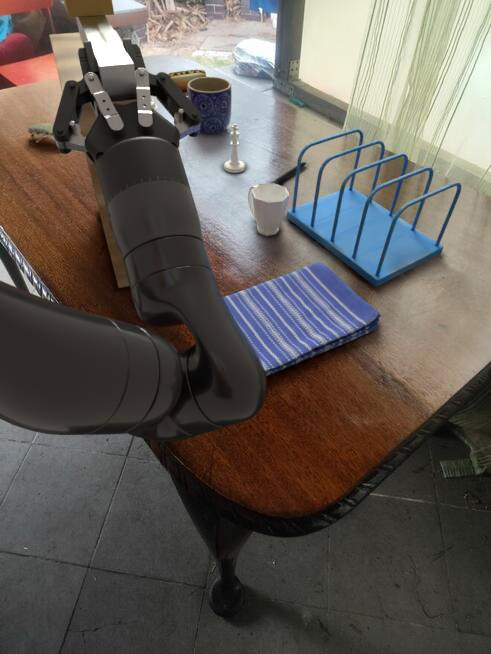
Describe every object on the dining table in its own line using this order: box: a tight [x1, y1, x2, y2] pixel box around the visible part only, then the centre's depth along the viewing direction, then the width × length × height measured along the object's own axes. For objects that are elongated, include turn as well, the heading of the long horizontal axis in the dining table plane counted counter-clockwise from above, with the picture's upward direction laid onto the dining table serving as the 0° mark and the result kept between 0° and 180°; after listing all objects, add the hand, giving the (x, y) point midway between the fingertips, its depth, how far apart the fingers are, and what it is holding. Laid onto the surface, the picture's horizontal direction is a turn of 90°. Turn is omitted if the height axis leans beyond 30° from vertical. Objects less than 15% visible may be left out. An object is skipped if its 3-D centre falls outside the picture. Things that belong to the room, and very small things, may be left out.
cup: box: [247, 182, 291, 237], centre depth 86 cm, size 7×10×8 cm
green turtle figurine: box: [27, 122, 56, 144], centre depth 110 cm, size 9×11×5 cm
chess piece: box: [223, 123, 246, 174], centre depth 102 cm, size 5×5×10 cm
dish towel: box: [222, 261, 382, 377], centre depth 71 cm, size 17×24×3 cm
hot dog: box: [167, 69, 207, 92], centre depth 136 cm, size 5×13×5 cm, turn 115°
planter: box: [186, 76, 233, 136], centre depth 115 cm, size 11×11×11 cm
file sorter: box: [286, 128, 462, 288], centre depth 82 cm, size 25×17×15 cm
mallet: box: [62, 0, 137, 102], centre depth 46 cm, size 22×5×7 cm, turn 20°
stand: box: [48, 29, 137, 289], centre depth 73 cm, size 25×10×31 cm, turn 20°
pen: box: [270, 161, 307, 185], centre depth 102 cm, size 1×16×1 cm, turn 142°
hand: (107, 47), depth 43 cm, fingers closed on mallet, 3 cm apart
